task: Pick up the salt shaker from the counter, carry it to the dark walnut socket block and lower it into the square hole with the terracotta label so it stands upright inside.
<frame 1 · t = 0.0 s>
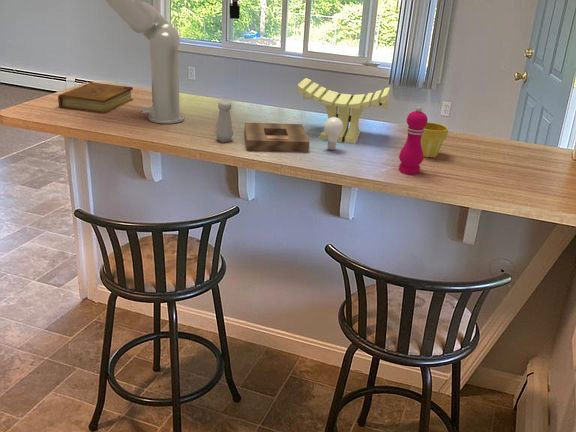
hand: (234, 16, 197), 37 cm above the breakfast bar, tool pointing down, fingers open, 9 cm apart
pepper mill: (408, 171, 175), on the breakfast bar
slatted curved stool: (339, 135, 205), on the breakfast bar
salt shaker: (224, 141, 191), on the breakfast bar
socket block: (275, 141, 193), on the breakfast bar
plant pot: (427, 155, 191), on the breakfast bar
diary: (97, 105, 224), on the breakfast bar
lightbulb: (331, 150, 189), on the breakfast bar
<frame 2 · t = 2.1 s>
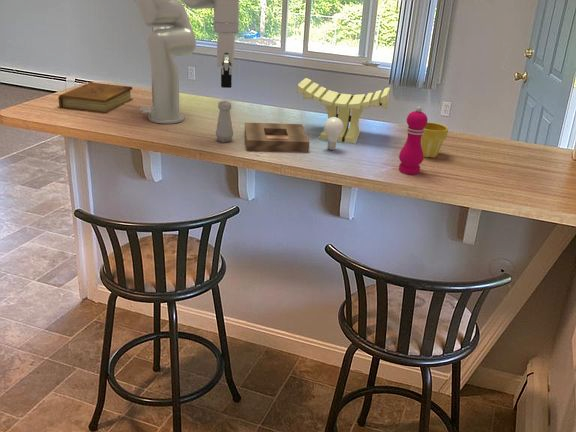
hand: (226, 84, 183), 19 cm above the breakfast bar, tool pointing down, fingers open, 9 cm apart
nothing on the breakfast bar moved.
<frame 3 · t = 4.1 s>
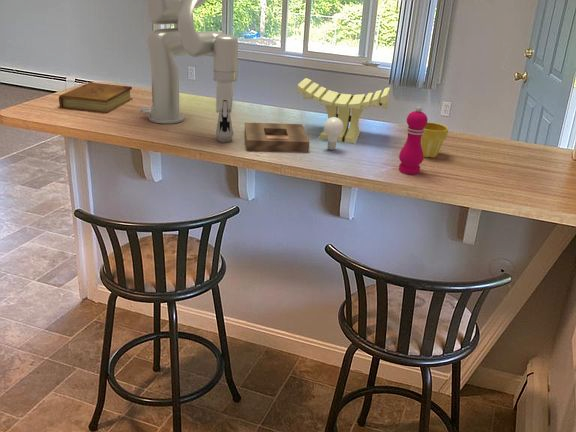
hand: (224, 131, 190), 3 cm above the breakfast bar, tool pointing down, fingers closed on salt shaker, 3 cm apart
salt shaker: (224, 141, 191), on the breakfast bar, touching gripper
everything else where it was.
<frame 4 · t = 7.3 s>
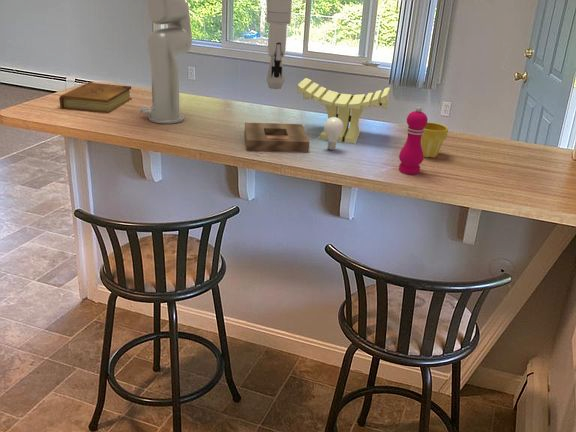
hand: (275, 77, 184), 21 cm above the breakfast bar, tool pointing down, fingers closed on salt shaker, 3 cm apart
salt shaker: (275, 88, 186), point 18 cm above the breakfast bar, touching gripper
everything else where it was.
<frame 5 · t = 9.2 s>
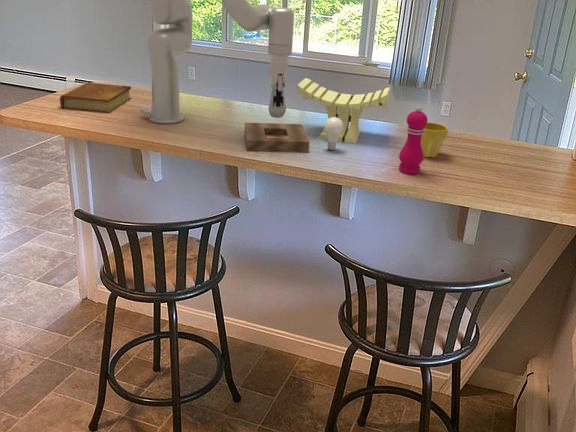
hand: (277, 106, 188), 12 cm above the breakfast bar, tool pointing down, fingers closed on salt shaker, 3 cm apart
salt shaker: (276, 116, 190), point 9 cm above the breakfast bar, touching gripper
everything else where it was.
when the fingers open (5 cm above the breakfast bar, at t = 10.8 s): salt shaker drops 1 cm, resting in socket block.
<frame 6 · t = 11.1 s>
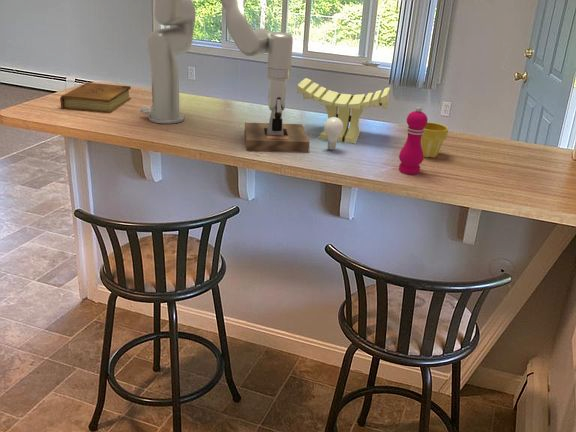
hand: (275, 127, 191), 5 cm above the breakfast bar, tool pointing down, fingers open, 5 cm apart
salt shaker: (274, 142, 194), resting in socket block
everything else where it was.
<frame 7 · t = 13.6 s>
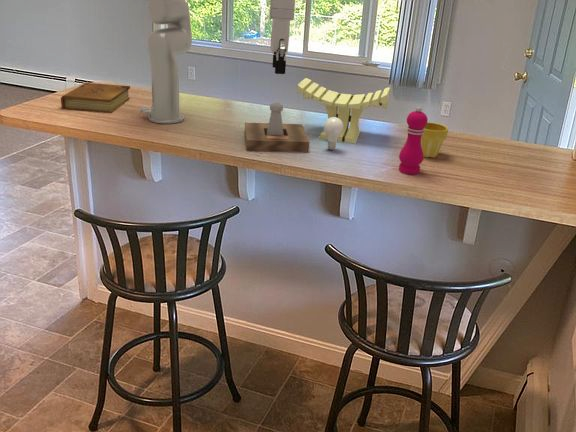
hand: (278, 70, 183), 24 cm above the breakfast bar, tool pointing down, fingers open, 9 cm apart
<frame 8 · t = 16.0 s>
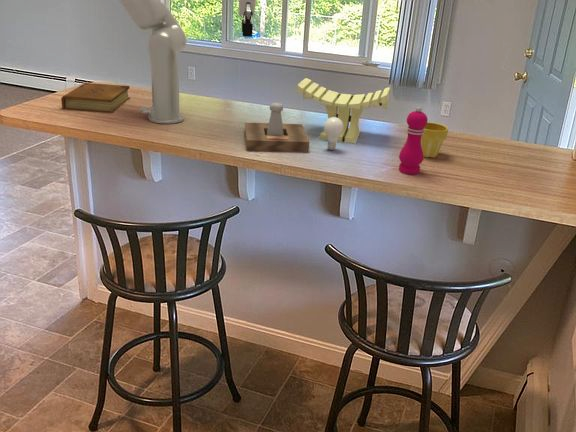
hand: (246, 34, 192), 32 cm above the breakfast bar, tool pointing down, fingers open, 9 cm apart
at the end: salt shaker 0.2 cm off-centre on the socket block, point 0.0 cm above the socket block's base; salt shaker tilted 0°; the gripper is holding nothing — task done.
